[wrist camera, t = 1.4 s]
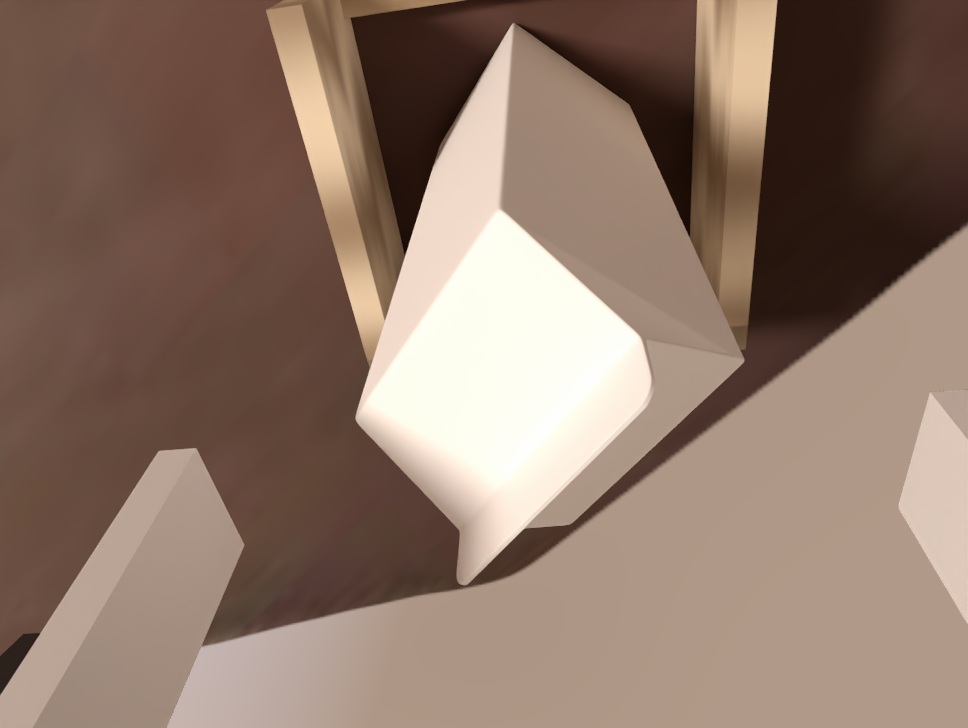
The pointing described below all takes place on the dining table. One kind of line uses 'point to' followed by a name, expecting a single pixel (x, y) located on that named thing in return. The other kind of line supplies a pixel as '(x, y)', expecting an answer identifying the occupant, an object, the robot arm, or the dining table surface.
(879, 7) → the dining table surface
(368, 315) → the shelf bay
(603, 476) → the milk
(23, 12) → the dining table surface
